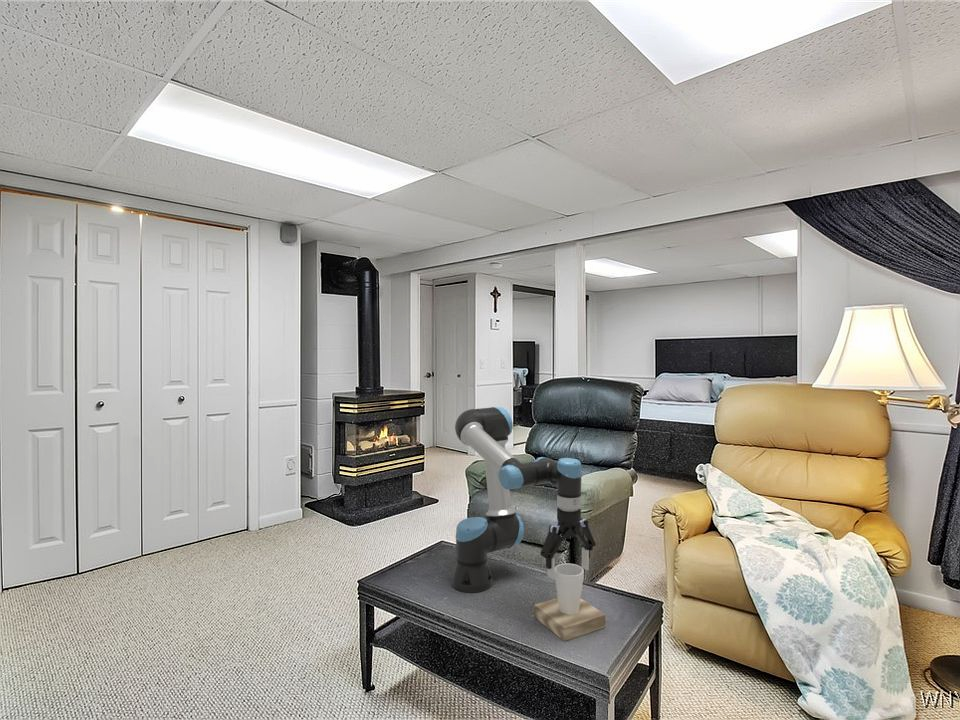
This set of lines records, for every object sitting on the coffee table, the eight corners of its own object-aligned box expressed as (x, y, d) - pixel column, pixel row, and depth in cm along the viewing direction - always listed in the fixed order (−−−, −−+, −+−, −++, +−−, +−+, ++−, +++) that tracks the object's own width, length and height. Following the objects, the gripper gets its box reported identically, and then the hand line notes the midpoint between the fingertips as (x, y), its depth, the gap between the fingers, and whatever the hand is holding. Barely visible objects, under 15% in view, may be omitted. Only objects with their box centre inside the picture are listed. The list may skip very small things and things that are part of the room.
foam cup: (550, 613, 165) (550, 572, 165) (559, 600, 173) (558, 561, 173) (579, 619, 161) (579, 578, 160) (587, 606, 169) (587, 566, 169)
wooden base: (534, 616, 171) (534, 604, 170) (573, 604, 178) (573, 593, 178) (564, 641, 156) (564, 628, 156) (605, 627, 164) (605, 614, 164)
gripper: (543, 518, 157) (542, 586, 158) (607, 505, 169) (606, 569, 170) (529, 510, 163) (529, 576, 164) (591, 498, 175) (591, 560, 176)
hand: (568, 573), depth 167 cm, fingers open, 13 cm apart
